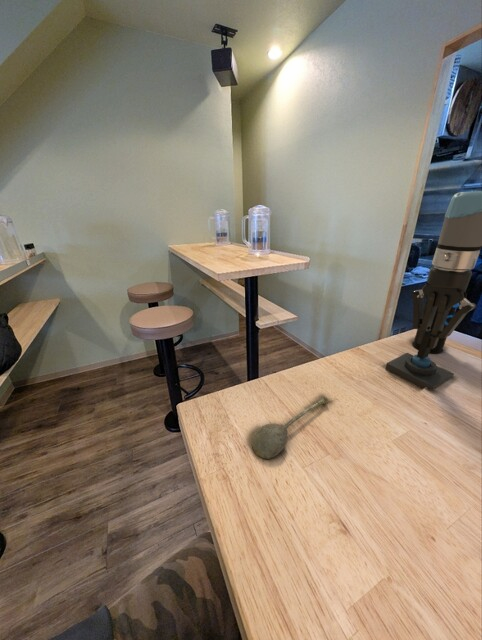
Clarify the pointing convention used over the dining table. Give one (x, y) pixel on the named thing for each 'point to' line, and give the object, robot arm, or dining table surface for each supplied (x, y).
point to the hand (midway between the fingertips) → (422, 356)
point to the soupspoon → (275, 435)
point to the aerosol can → (441, 341)
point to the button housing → (418, 372)
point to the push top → (421, 361)
